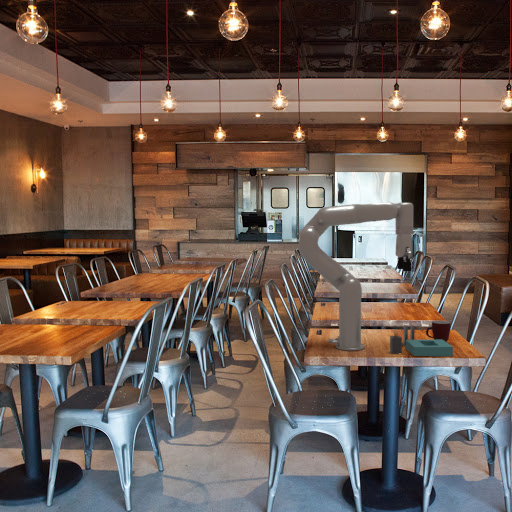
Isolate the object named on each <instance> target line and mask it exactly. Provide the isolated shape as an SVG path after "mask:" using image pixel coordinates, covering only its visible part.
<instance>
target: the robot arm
mask: <svg viewBox="0 0 512 512" xmlns="http://www.w3.org/2000/svg"><path fill="white" fill-rule="evenodd" d="M393 219H394V220H395V235H396V240H395V256H396V257H397V269H398V270H403V272H411V271H412V253H413V239H412V235H414V204H413V203H412V202H398V203H393V202H390V201H387V202H379V203H378V202H376V203H367V204H364V203H363V204H361V203H360V204H359V203H356V204H355V203H354V204H353V203H352V204H345V205H335V206H331V205H330V206H325V207H322V208H320V209H318V211H317V212H316V213H315V214H314V215H313V217H311V219H310V220H309V221H308V222H307V223H306V224H305V225H304V226H303V228H302V229H301V230H300V232H299V239H298V250H299V253H300V255H301V257H302V258H303V260H305V262H306V263H307V264H309V265H310V266H311V268H312V269H314V270H315V271H316V272H317V273H318V274H319V275H320V276H321V277H322V278H323V279H324V281H327V283H330V284H331V285H332V286H333V287H334V288H335V289H336V290H337V291H339V296H338V297H339V301H338V303H339V304H338V314H339V315H338V317H339V318H338V320H339V321H338V323H339V324H338V328H339V329H338V332H339V333H338V336H337V337H336V338H328V344H335V348H336V349H337V350H341V351H352V352H353V351H360V350H361V351H362V350H364V349H365V345H364V344H363V343H362V295H363V292H362V291H363V288H362V284H361V282H360V281H359V279H358V278H357V277H355V276H354V275H353V274H351V272H349V271H348V270H347V269H346V268H345V267H343V266H342V265H341V264H340V263H339V262H338V261H337V260H335V259H333V258H332V257H331V256H330V255H328V254H327V253H326V252H325V251H324V250H323V249H322V248H321V247H320V246H319V244H318V243H319V239H320V238H321V236H322V235H323V234H324V233H325V231H327V230H328V229H329V228H330V227H334V226H343V225H355V224H363V223H369V222H370V223H371V222H380V221H390V220H393Z"/></svg>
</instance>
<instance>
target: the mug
mask: <svg viewBox="0 0 512 512" xmlns="http://www.w3.org/2000/svg"><path fill="white" fill-rule="evenodd" d="M451 328H452V326H451V321H448V320H432V321H431V326H429V327H427V328H426V330H425V334H426V337H428V338H429V339H433V340H436V339H442V340H444V341H445V342H447V343H448V341H449V337H450V333H451ZM430 330H431V331H432V335H429V331H430Z"/></svg>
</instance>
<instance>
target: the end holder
mask: <svg viewBox="0 0 512 512" xmlns="http://www.w3.org/2000/svg"><path fill="white" fill-rule="evenodd" d="M405 350H406V351H408V352H409V353H410V354H411V355H412V356H413V355H414V356H430V357H453V356H454V353H453V352H454V346H453V345H451V344H449V343H448V341H447V342H445V341H444V340H442V339H436V340H434V339H414V340H410V339H408V340H406V347H405ZM414 356H413V357H414Z"/></svg>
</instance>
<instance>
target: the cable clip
mask: <svg viewBox="0 0 512 512" xmlns="http://www.w3.org/2000/svg"><path fill="white" fill-rule="evenodd" d="M408 327H409V326H408V325H405V324H404V325H403V341H402V345H403V346H406V340H415V325H413V324H411V325H410V330H409V328H408ZM409 332H410V335H409ZM408 335H409V336H408ZM408 337H410V339H409V338H408ZM403 346H402V347H403Z"/></svg>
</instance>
